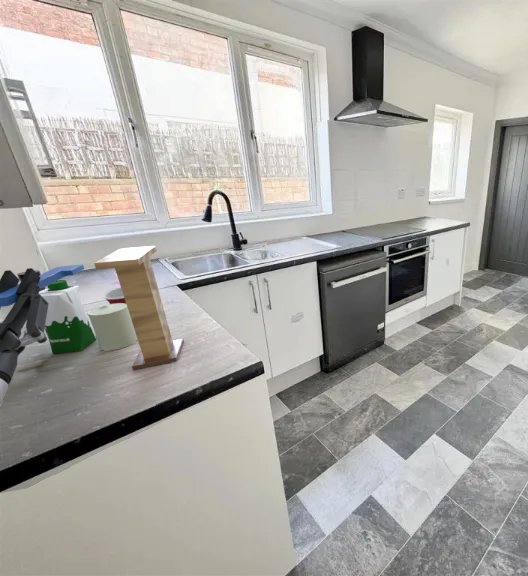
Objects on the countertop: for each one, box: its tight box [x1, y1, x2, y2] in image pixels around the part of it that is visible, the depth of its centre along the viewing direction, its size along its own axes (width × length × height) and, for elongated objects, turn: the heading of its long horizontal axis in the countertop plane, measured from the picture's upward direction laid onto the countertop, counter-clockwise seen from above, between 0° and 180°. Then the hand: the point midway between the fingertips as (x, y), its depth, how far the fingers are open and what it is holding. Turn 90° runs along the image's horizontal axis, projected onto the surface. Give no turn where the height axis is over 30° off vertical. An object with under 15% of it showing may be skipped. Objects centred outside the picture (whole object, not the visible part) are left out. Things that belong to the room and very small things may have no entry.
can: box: [87, 303, 138, 352], centre depth 93 cm, size 9×9×12 cm
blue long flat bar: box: [0, 264, 85, 308], centre depth 65 cm, size 26×5×2 cm, turn 24°
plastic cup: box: [102, 286, 126, 304], centre depth 107 cm, size 11×11×12 cm
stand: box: [93, 245, 185, 371], centre depth 82 cm, size 17×10×30 cm, turn 24°
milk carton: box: [39, 279, 97, 355], centre depth 90 cm, size 9×9×20 cm
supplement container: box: [16, 269, 48, 292], centre depth 136 cm, size 7×7×10 cm
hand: (23, 274), depth 60 cm, fingers closed on blue long flat bar, 2 cm apart
